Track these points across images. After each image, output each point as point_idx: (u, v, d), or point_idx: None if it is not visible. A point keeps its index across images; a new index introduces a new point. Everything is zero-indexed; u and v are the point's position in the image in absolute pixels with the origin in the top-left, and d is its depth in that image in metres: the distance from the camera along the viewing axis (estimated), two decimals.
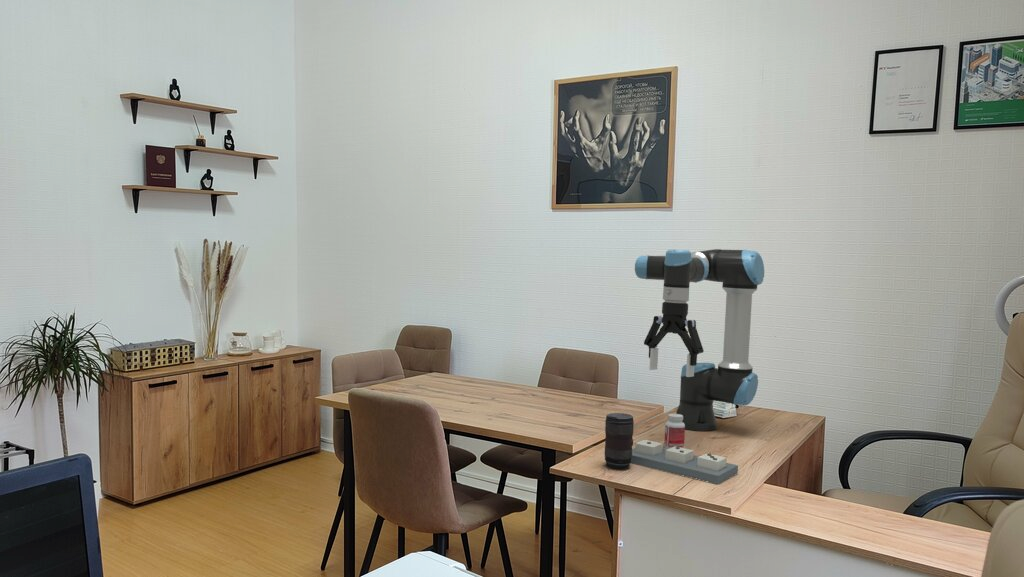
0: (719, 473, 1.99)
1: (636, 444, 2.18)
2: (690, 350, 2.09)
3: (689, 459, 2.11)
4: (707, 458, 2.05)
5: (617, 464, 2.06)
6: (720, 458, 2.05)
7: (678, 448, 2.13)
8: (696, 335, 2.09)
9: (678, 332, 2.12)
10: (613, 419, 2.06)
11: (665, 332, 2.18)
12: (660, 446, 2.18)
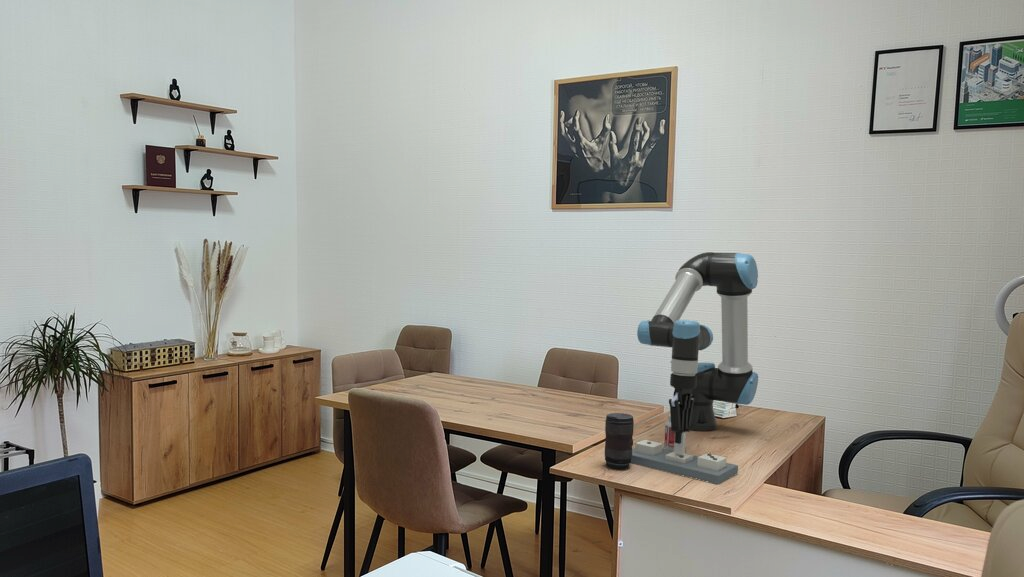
0: (719, 473, 1.99)
1: (636, 444, 2.18)
2: None
3: None
4: (707, 458, 2.05)
5: (617, 464, 2.06)
6: (720, 458, 2.05)
7: None
8: (674, 414, 2.08)
9: None
10: (613, 419, 2.06)
11: None
12: (660, 446, 2.18)
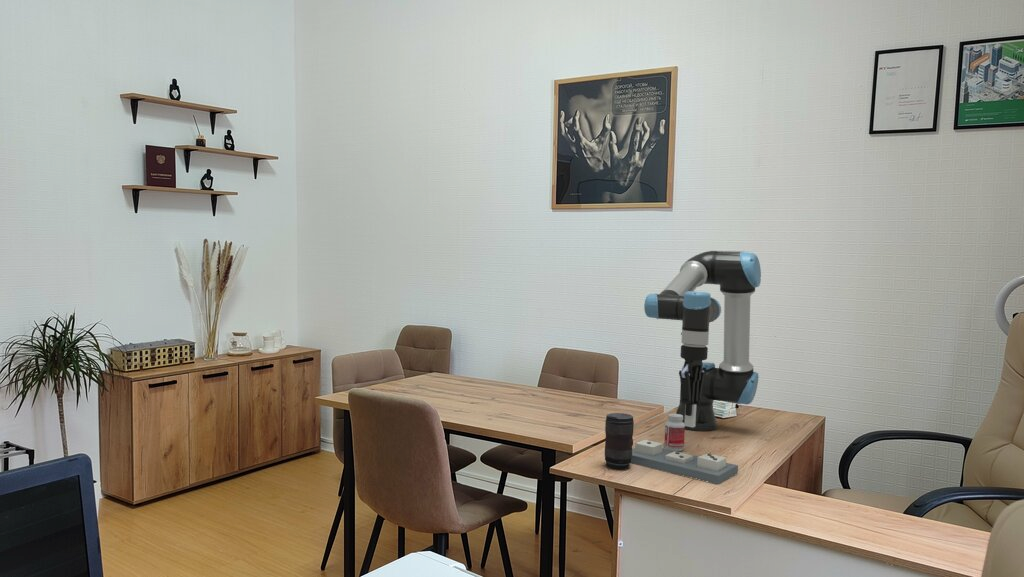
0: (719, 473, 1.99)
1: (636, 444, 2.18)
2: None
3: None
4: (707, 458, 2.05)
5: (617, 464, 2.06)
6: (720, 458, 2.05)
7: (678, 453, 2.13)
8: (684, 386, 2.05)
9: None
10: (613, 419, 2.06)
11: None
12: (660, 446, 2.18)
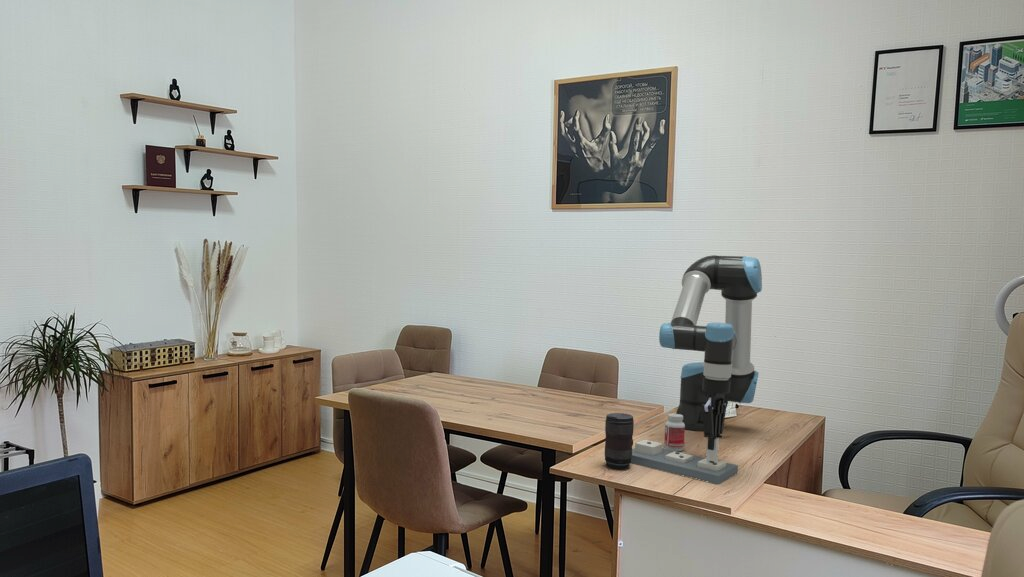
0: (719, 473, 1.99)
1: (636, 444, 2.18)
2: None
3: None
4: (707, 463, 2.05)
5: (617, 464, 2.06)
6: (720, 463, 2.05)
7: (678, 453, 2.13)
8: (707, 420, 2.01)
9: None
10: (613, 419, 2.06)
11: None
12: (660, 446, 2.18)
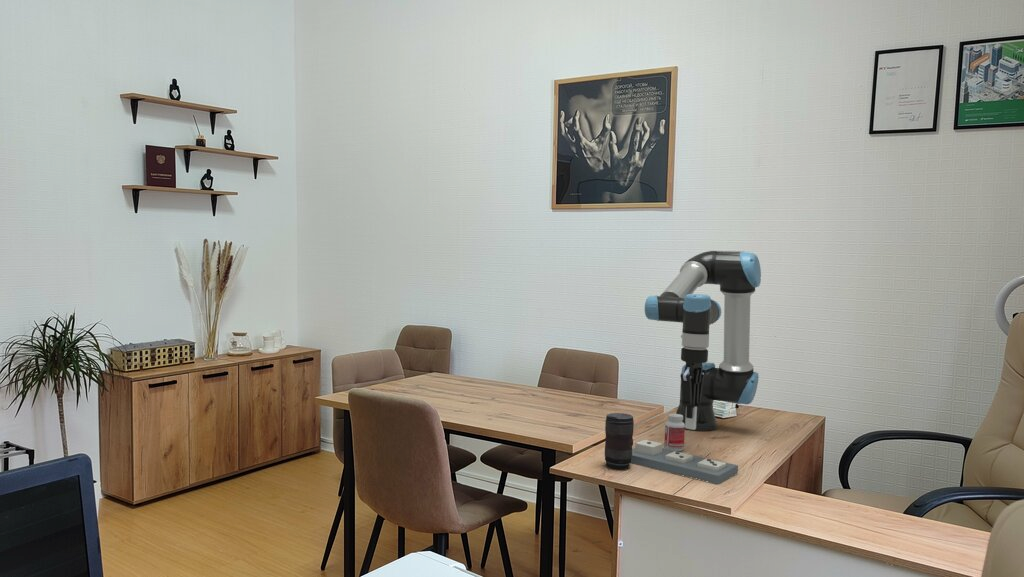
0: (719, 473, 1.99)
1: (636, 444, 2.18)
2: None
3: None
4: (707, 463, 2.05)
5: (617, 464, 2.06)
6: (720, 463, 2.05)
7: (678, 453, 2.13)
8: (686, 389, 2.06)
9: None
10: (613, 419, 2.06)
11: None
12: (660, 446, 2.18)
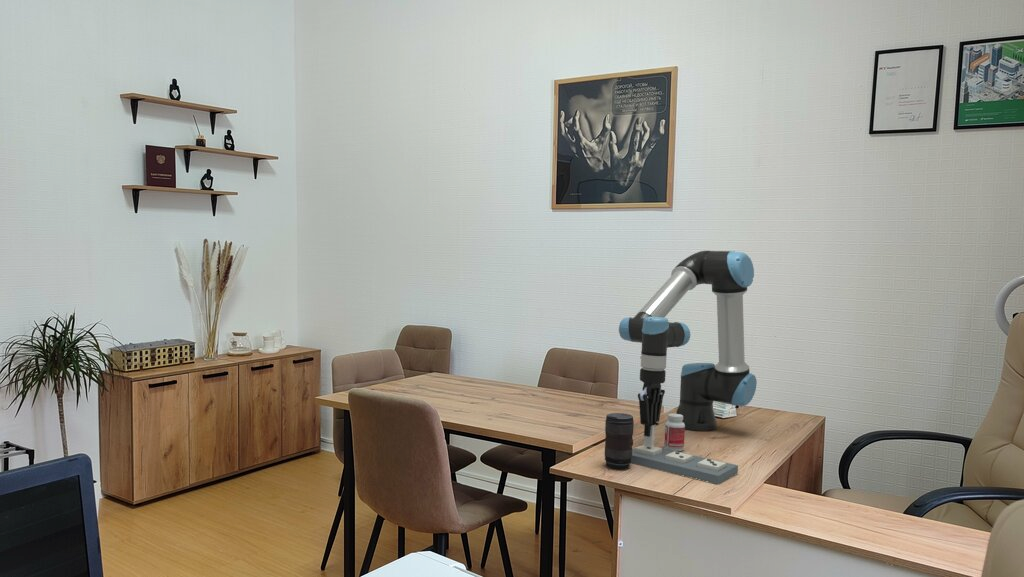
0: (719, 473, 1.99)
1: (636, 449, 2.18)
2: None
3: None
4: (707, 463, 2.05)
5: (617, 464, 2.06)
6: (720, 463, 2.05)
7: (678, 453, 2.13)
8: (643, 408, 2.14)
9: None
10: (613, 419, 2.06)
11: None
12: (660, 451, 2.18)
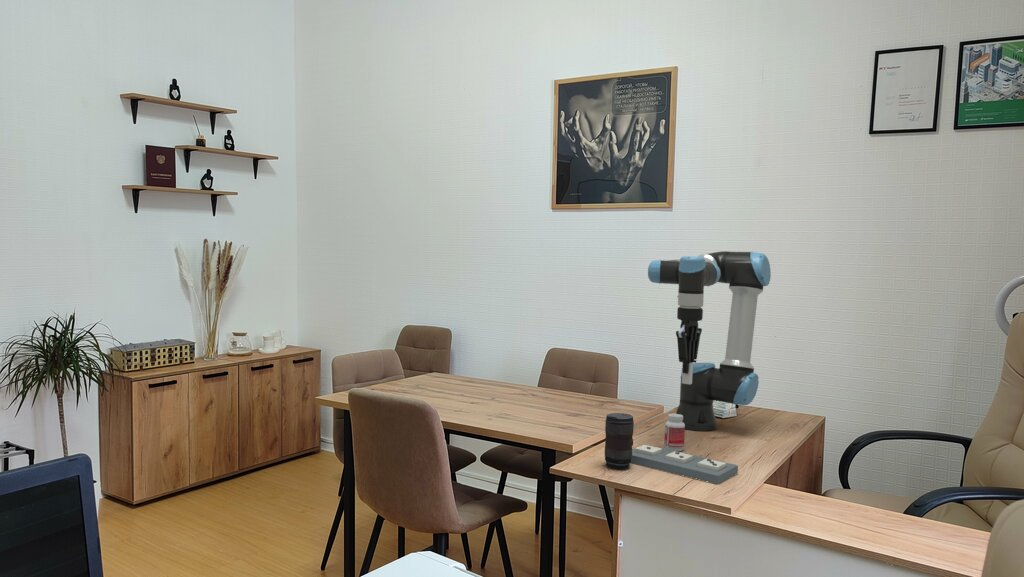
0: (719, 473, 1.99)
1: (636, 449, 2.18)
2: None
3: None
4: (707, 463, 2.05)
5: (617, 464, 2.06)
6: (720, 463, 2.05)
7: (678, 453, 2.13)
8: (681, 345, 2.18)
9: None
10: (613, 419, 2.06)
11: None
12: (660, 451, 2.18)
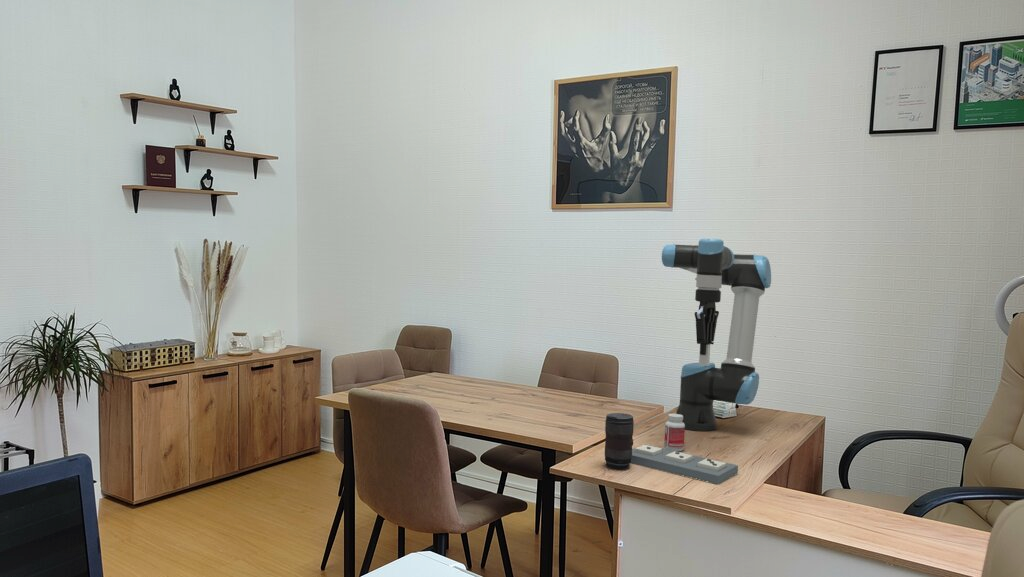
0: (719, 473, 1.99)
1: (636, 449, 2.18)
2: None
3: None
4: (707, 463, 2.05)
5: (617, 464, 2.06)
6: (720, 463, 2.05)
7: (678, 453, 2.13)
8: (699, 326, 2.19)
9: None
10: (613, 419, 2.06)
11: None
12: (660, 451, 2.18)
